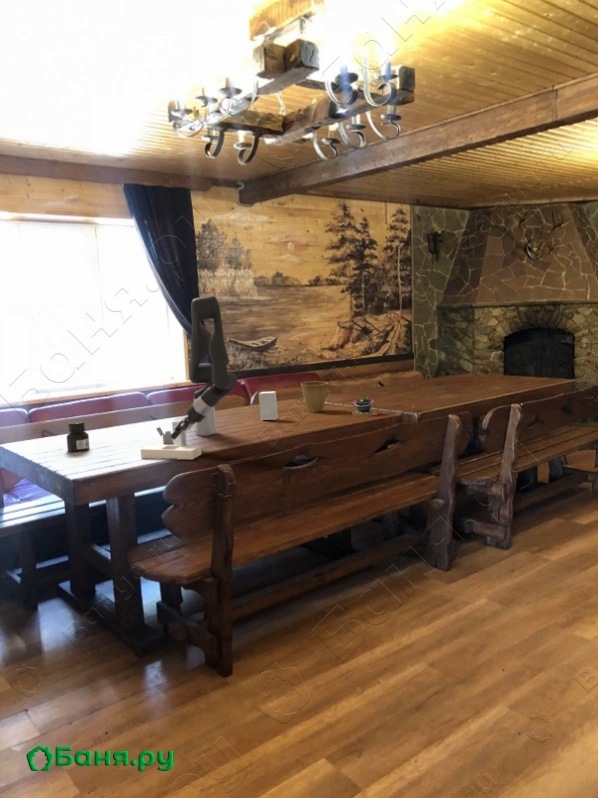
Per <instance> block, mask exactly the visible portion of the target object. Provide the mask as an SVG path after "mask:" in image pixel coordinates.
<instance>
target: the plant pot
mask: <svg viewBox="0 0 598 798" xmlns="http://www.w3.org/2000/svg"><path fill="white" fill-rule="evenodd" d="M300 386H301V392H302V395H303V400H304V403H305V405H306V408H307V410H308V412H309V411H313V412H312V413H317V412H316V411H321V412H322V411H323V409H324V407H325V403H326V397H327V393H328V386H329V383H328V382H326V381H320V380H319V381H318V380H317V381H306V382H305V381H304V382H301V383H300Z"/></svg>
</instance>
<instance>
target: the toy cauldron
mask: <svg viewBox="0 0 598 798" xmlns="http://www.w3.org/2000/svg"><path fill="white" fill-rule="evenodd" d="M365 396H366V398H363V399H362V398H360V399H356V400H353V402H352V403H353V405H354V406H355V408H356V410H354V411H353V412H354V413H358V412H359V413H360V414H369V413H374V412H375V411H373V410H372V407H373V402H375V400H374V399H370V398H369V397H370V396H368V395H366V394H365ZM356 398H359V396H356ZM368 398H369V399H368ZM367 412H368V413H367Z"/></svg>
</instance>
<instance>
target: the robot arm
mask: <svg viewBox="0 0 598 798" xmlns="http://www.w3.org/2000/svg"><path fill="white" fill-rule="evenodd" d="M190 306H191V308H190V310H191V311H190V313H191V314H190V315H191V337H190V339H191V341H190V354H191V355H190V363H189V370H188V371H189V373H188V375H189V381H190V383H192V384H198V385H199V384H205V385H204V387H202V388H200V389H198V390H195V391H194V392H193V403H192V404H191V405H190V406H189V407H188V408H187V410H186V414H187V416H186V417H184V418H183V419H182V420H183V421H181V422H180V423H179V424H178V426H177V427H176V428H175V429H174V430H175V432H174V433H173V432H172V433H173V434H172V435H171V437H172V438H173V439H176V438H177V437H178V435H179V434H181V432H182V431H183V430H186V432H187V431H188V430H190V429H192V427H193V426H194V425H195V435H196V436H199V437H200V436H204V437H205V436H213V435H215V434H216V414H215V410H216V409H215V407H216V405H217V404H218V403H219V401H220V400H221V399H222V398H224V397H225V396H227V395H228V394H229V393H231V392H232V391H233V390H234V388H235V387H236V386H237V384H238V377H237V375H236V374H235V373H233V372H228V369H227V367H228V366H229V364H230V358H229V355H228V351H227V348H226V344H225V343H226V342H225V336H224V327H223V320H222V313H221V308H220V303H219V300H218V298H217V297H216V296H215V295H208V296H202V297H196V298H193V299H192V300H191V304H190ZM212 319H213V331H212V333H211V332H210V330H208V329H207V327H205V326H204V324H203V323H202V321H205V320H212ZM208 356H209V357H210V360H211V363H209V362H205V363H203V361H204V360H205V359H206V358H207V357H208ZM184 427H185V428H184ZM179 429H180V430H179ZM212 434H213V435H212Z"/></svg>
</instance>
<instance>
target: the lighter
mask: <svg viewBox="0 0 598 798" xmlns="http://www.w3.org/2000/svg"><path fill="white" fill-rule="evenodd" d="M155 429H156V431H157V432H158V435H159V436H161V437H162V444H163V443H168V444H172V443H171V442H173V438H172V437H171V435H172V434H173V432H172V431H170V430H168V431H167V430H165V432H163V430H162V428H161V426H159V425H158V426H156V427H155Z"/></svg>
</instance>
